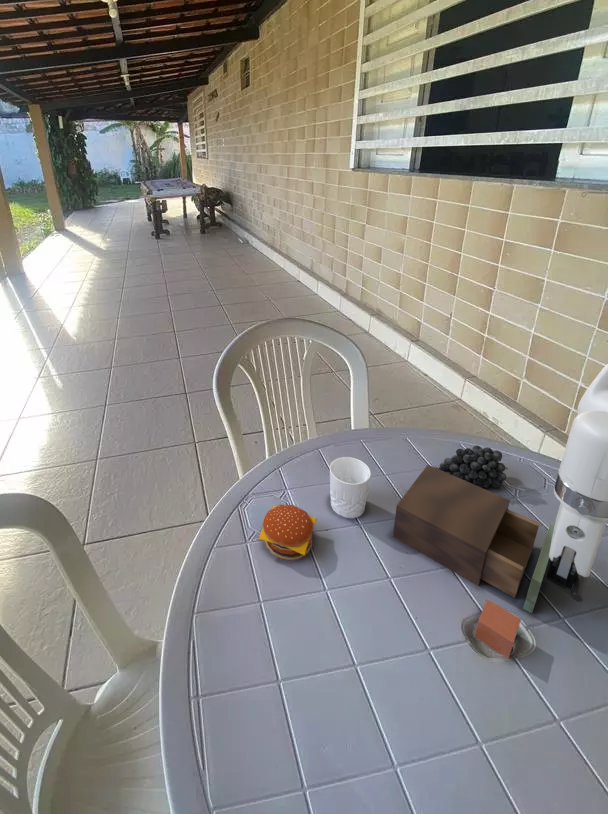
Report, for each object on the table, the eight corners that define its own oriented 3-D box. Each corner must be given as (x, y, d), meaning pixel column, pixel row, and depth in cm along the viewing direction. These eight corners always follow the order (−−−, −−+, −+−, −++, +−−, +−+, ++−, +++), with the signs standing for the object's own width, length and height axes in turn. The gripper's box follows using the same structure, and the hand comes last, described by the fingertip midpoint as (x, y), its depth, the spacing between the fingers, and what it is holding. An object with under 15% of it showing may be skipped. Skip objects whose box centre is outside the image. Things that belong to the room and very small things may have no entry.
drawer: (585, 574, 71) (596, 544, 68) (571, 636, 62) (583, 605, 60) (466, 516, 83) (471, 489, 81) (440, 561, 75) (445, 532, 72)
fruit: (438, 454, 88) (514, 453, 87) (423, 441, 97) (493, 440, 95) (439, 494, 89) (515, 494, 87) (424, 478, 97) (494, 477, 95)
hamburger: (317, 530, 83) (318, 504, 81) (305, 572, 75) (306, 545, 73) (271, 516, 87) (271, 491, 85) (256, 555, 79) (255, 528, 76)
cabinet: (501, 535, 80) (510, 500, 77) (477, 589, 70) (486, 552, 67) (422, 496, 90) (427, 464, 87) (392, 540, 80) (396, 505, 77)
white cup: (340, 488, 93) (342, 451, 90) (374, 507, 88) (378, 468, 84) (320, 509, 88) (321, 471, 84) (354, 530, 83) (357, 490, 79)
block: (515, 638, 63) (521, 618, 62) (507, 662, 60) (513, 642, 59) (482, 618, 66) (487, 599, 65) (473, 640, 63) (478, 620, 62)
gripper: (616, 539, 54) (580, 634, 60) (627, 477, 63) (595, 565, 70) (545, 509, 59) (519, 599, 65) (565, 455, 68) (540, 539, 75)
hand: (558, 581), depth 68 cm, fingers closed
